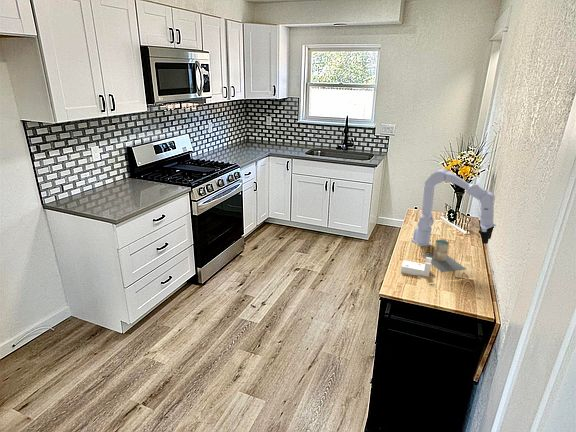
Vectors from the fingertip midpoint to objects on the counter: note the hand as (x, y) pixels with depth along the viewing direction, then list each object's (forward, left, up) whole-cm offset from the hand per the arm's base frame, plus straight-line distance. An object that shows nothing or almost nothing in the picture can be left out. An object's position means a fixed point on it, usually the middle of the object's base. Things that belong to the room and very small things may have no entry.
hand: (486, 241), depth 192 cm
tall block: (-4, -23, -10) cm, 26 cm away
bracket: (+5, -42, -11) cm, 44 cm away
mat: (-1, -23, -11) cm, 26 cm away
